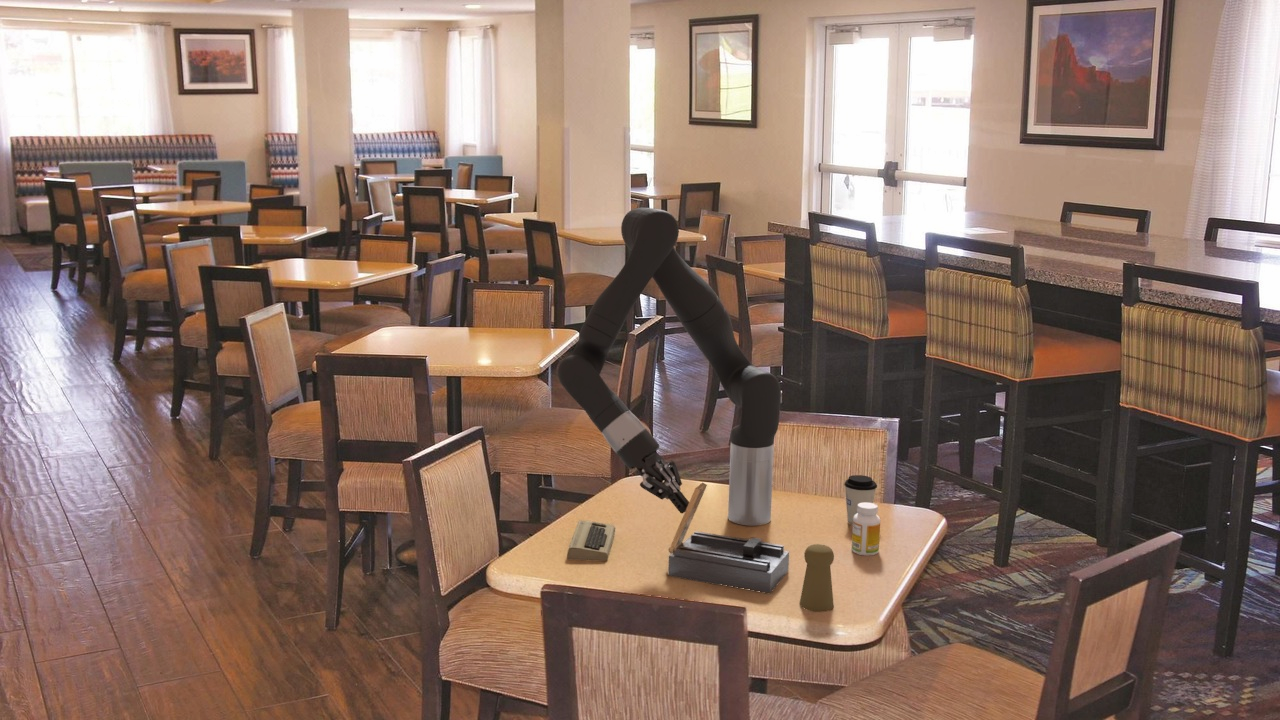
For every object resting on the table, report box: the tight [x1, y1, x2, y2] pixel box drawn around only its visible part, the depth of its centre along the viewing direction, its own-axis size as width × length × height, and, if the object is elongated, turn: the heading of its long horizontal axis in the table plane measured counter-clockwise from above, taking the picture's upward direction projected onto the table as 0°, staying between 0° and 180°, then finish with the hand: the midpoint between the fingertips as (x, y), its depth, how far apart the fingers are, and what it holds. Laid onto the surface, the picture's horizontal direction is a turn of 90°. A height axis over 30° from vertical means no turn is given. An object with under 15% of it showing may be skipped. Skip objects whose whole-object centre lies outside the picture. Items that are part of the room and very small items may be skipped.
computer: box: [566, 519, 616, 562], centre depth 236 cm, size 16×8×3 cm, turn 176°
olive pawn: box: [799, 543, 835, 613], centre depth 209 cm, size 6×6×11 cm
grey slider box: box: [667, 530, 790, 594], centre depth 223 cm, size 12×20×7 cm, turn 67°
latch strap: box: [668, 482, 708, 554], centre depth 225 cm, size 4×14×1 cm
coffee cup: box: [843, 474, 878, 526], centre depth 251 cm, size 7×7×10 cm
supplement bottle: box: [851, 502, 881, 556], centre depth 235 cm, size 5×5×10 cm
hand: (686, 510), depth 224 cm, fingers closed
